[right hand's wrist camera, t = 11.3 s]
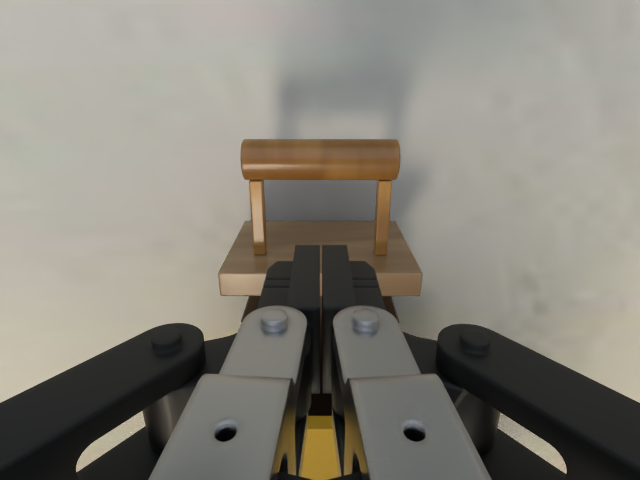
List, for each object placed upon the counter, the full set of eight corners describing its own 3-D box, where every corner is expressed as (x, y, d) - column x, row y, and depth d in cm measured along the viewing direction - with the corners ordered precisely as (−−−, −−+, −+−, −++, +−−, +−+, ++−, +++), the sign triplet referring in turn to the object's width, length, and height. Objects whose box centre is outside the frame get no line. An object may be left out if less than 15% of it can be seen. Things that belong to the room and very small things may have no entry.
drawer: (238, 126, 23) (204, 147, 16) (402, 127, 23) (436, 147, 16) (259, 421, 31) (242, 516, 24) (380, 421, 31) (397, 516, 24)
